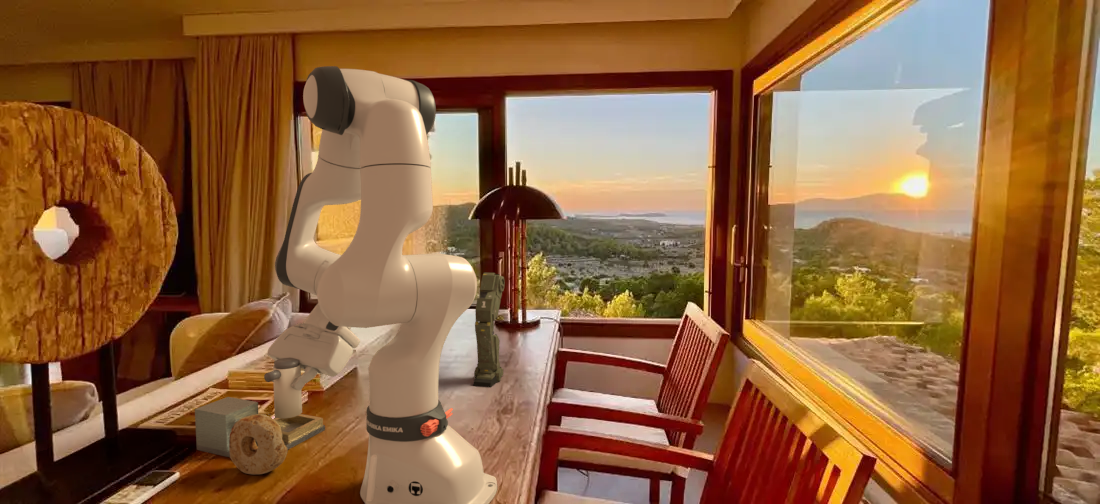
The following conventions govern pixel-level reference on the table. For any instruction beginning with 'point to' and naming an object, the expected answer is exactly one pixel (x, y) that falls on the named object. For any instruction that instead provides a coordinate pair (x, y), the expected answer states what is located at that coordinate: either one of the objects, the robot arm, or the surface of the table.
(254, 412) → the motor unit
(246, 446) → the stone disc
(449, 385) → the table surface
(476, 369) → the mechanical leg
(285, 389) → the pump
